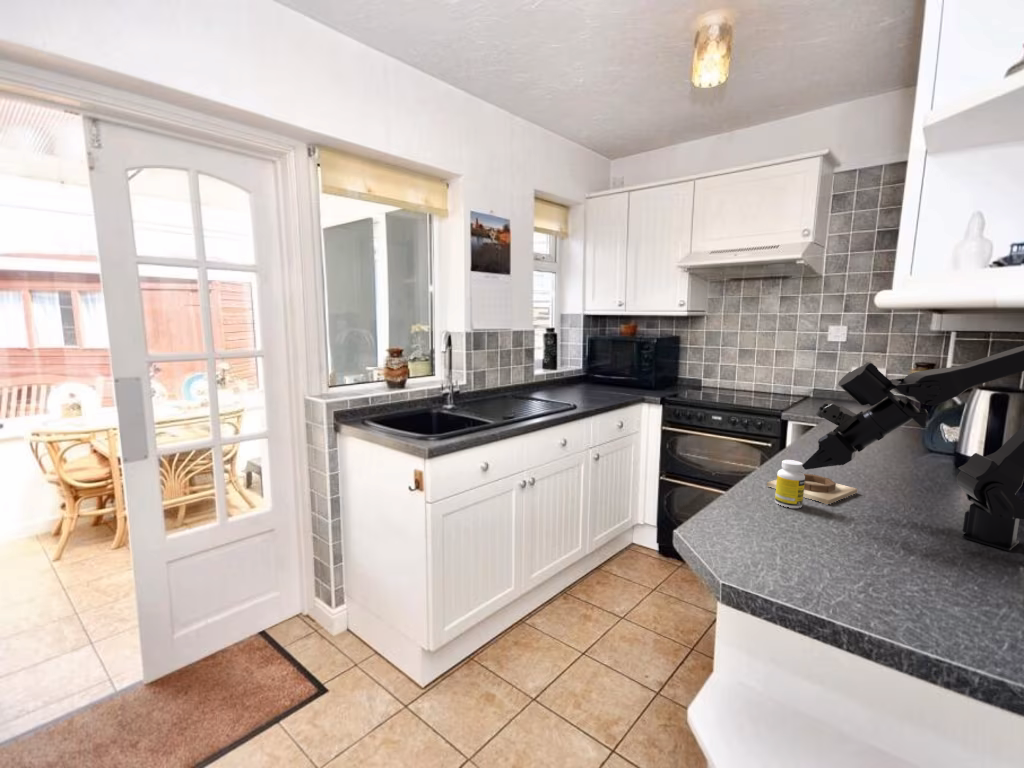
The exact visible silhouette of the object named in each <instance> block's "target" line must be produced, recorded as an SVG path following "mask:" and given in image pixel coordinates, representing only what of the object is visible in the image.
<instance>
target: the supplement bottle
mask: <svg viewBox="0 0 1024 768" xmlns="http://www.w3.org/2000/svg"><path fill="white" fill-rule="evenodd" d="M803 464H804V463H803V462H801V461H799V460H793V459H784V460H782V461H781V469H779V470H778V471H777V473H776V474H777V475H776V476H777V477H776V479H777V483H776V490H775V493H774V503H775V504H777V505H778V504H779V506H780V505H781V506H780V507H783V506H784V507H783V508H787V507H789V508H788V509H800V508H802V506H803V502H804V498H803V494H804V484H805V475H804V474H805V473H803V472H802V471H803V469H804V468H803V466H802V465H803ZM799 507H800V508H799Z"/></svg>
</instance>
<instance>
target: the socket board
mask: <svg viewBox="0 0 1024 768" xmlns="http://www.w3.org/2000/svg"><path fill="white" fill-rule="evenodd" d="M803 474H804V475H805V484H804V494H803V497H805V498H809V499H812V500H816V501H819V502H822V503H825V504H830V503H833V502H835V501H838V500H840V499H843V498H845V497H847V496H850V495H852V496H854V495H853V494H855V493H857V494H858V488H855V487H852V486H847V485H844V484H839V483H837V482H835V481H833V480H832V479H831V478H829V477H825V476H822V475H817V474H812V473H803ZM776 483H777V478H776V479H774V480H771V481H767V482H766V487H767V486H769V487H772V488H775V489H776ZM775 489H774V490H775ZM855 495H856V494H855ZM850 497H851V496H850ZM805 498H804V499H805ZM847 498H848V497H847ZM845 499H846V498H845ZM812 500H811V501H812ZM843 500H844V499H843ZM840 501H841V500H840ZM838 502H839V501H838ZM822 503H821V504H822ZM835 503H836V502H835ZM825 504H824V505H825ZM833 504H834V503H833ZM830 505H831V504H830Z"/></svg>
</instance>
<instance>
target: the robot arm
mask: <svg viewBox="0 0 1024 768" xmlns="http://www.w3.org/2000/svg"><path fill="white" fill-rule="evenodd" d="M1022 372H1024V345H1022V346H1017V347H1014V348H1011V349H1008V350H1005V351H1002V352H998V353H995V354H992V355H990V356H986V357H982V358H980V359H977V360H976V359H975V360H973V361H970V362H967V363H964V364H959V365H956V366H950V367H942V368H941V367H940V368H933V369H932V368H931V369H926V370H920V371H914V372H911V373H910V374H907V375H906V376H905V377H903V378H892V379H889V378H888V377H887V376H886V375H884V374H883V373H882V371H880V370H879V369H878V367H877V366H876V365H875V364H874V363H872V362H869V361H867V362H866V363H864V364H863V365H861V366H859V367H857V368H855V369H853V370H852V371H848V372H847V373H846V374H845V375H844V376H842V378H841V379H840V380H839V381H838V387H840V388H841V389H842V390H843V391H845V392H846V393H847V395H849V396H850V397H851V398H852V399H853V400H854V401H856V403H858V404H859V405H860V406H866V405H868V406H870V407H869V408H867V409H866V410H864V411H863V410H861V411H860V412H859V413H857V414H856V413H855V412H853V411H852V410H850V409H848V408H847V407H844V406H843V405H840V404H839V403H836V401H833V400H830V399H827V400H825V401H823V403H822V404H821V406H820V407H819V408H818V410H817V411H816V413H815V415H816V416H817V417H820V418H821V419H824V420H826V421H828V422H830V423H832V424H834V425H836V427H835V428H834V429H833V430H831V431H829V432H828V433H826V434H825V435H822V437H820V438H818V441H817V443H818V448H817V450H816V451H815V452H814V453H813V454H812V455H811V456H810V457H809V458H808V459H807V460H806V461H805V462H804V463H803V465H802V466H803V468H802V469H804V470H814V469H821V468H828V467H835V466H838V467H839V466H844V465H846V464H847V463H849V462H851V461H853V460H854V458H856V453H857V452H858V453H860V452H862V451H863V450H865V449H866V448H868V447H869V446H870V445H872V444H874V443H875V442H877V441H880V440H882V439H884V437H886V436H887V435H890V433H892V432H894V431H896V430H898V429H900V428H901V427H903V426H904V425H906V424H908V423H910V422H911V421H914V422H915V423H917V424H918V425H919V426H920V428H921V427H922V428H925V427H926V426H927V417H928V415H929V413H928V411H927V409H926V408H918V407H916V406H915V405H914V404H913V403H912V402H911V401H910V400H912V401H915V402H917V403H920V404H922V405H926V406H931V407H933V406H936V405H937V406H938V405H940V404H943V403H946V402H948V401H950V400H952V399H954V398H957V397H958V396H960V395H962V393H964V392H966V391H967V390H969V389H971V388H973V387H975V386H979V385H982V384H986V383H989V382H993V381H995V380H1000V379H1002V378H1005V377H1009V376H1012V375H1015V374H1019V373H1022ZM893 392H894V393H896V394H900V395H902V396H905V397H906V398H899V397H898V396H896V395H895V394H894V393H893ZM957 469H958V470H960V471H959V473H958V474H957V475H956V480H957V481H956V482H957V486H958V487H959V489H960V490H961V491H962V492H964V493H965V496H966V498H967V499H966V500H967V501H969V502H971V504H970V505H969V509H968V510H966V511H965V512H964V517H963V524H962V525H963V526H962V532H963V534H962V538H963V539H965V540H969V541H973V542H976V543H979V544H982V545H987V546H990V547H994V548H998V549H1001V550H1005V551H1011V550H1013V548H1015V547H1016V546H1017V545H1018V544H1019V543H1020V540H1019V539H1017V538H1018V537H1017V536H1018V532H1019V525H1020V520H1024V501H1023V500H1022V499H1021V498H1019V497H1018V496H1017V493H1018V492H1019V490H1020V489H1021V488H1022V486H1023V483H1024V424H1023V425H1022V426H1021V427H1020V428H1019V429H1018V430H1017V431H1016V432H1015V433H1014V434H1013V435H1011V437H1010V438H1009V439H1008V440H1007V441H1006V442H1004V443H1003V444H1002V446H1001V447H999V449H997V450H996V451H995V452H993V453H990V454H987V455H986V456H984V455H982V454H979V453H978V452H975V453H973V454H972V455H971V456H970V458H969V459H968V461H967V462H965V463H964V464H963V465H961V466H959V467H958V468H957Z"/></svg>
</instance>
